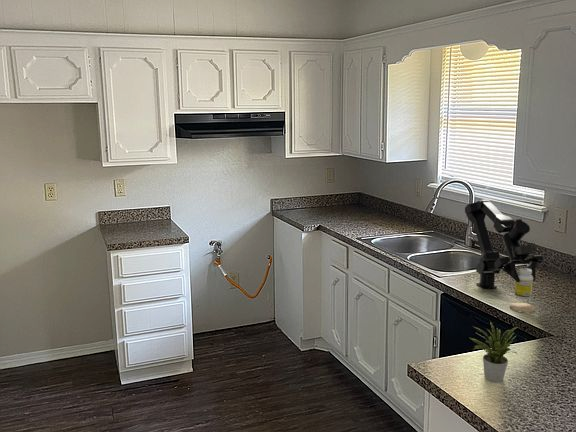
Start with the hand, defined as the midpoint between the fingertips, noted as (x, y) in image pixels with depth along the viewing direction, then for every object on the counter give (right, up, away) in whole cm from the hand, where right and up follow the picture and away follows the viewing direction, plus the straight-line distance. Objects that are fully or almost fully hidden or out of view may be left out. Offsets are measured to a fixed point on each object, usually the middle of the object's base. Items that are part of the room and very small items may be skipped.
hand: (526, 281), depth 226 cm
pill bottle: (0, -6, +3) cm, 7 cm away
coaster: (0, -11, +4) cm, 11 cm away
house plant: (-30, -23, -51) cm, 64 cm away
